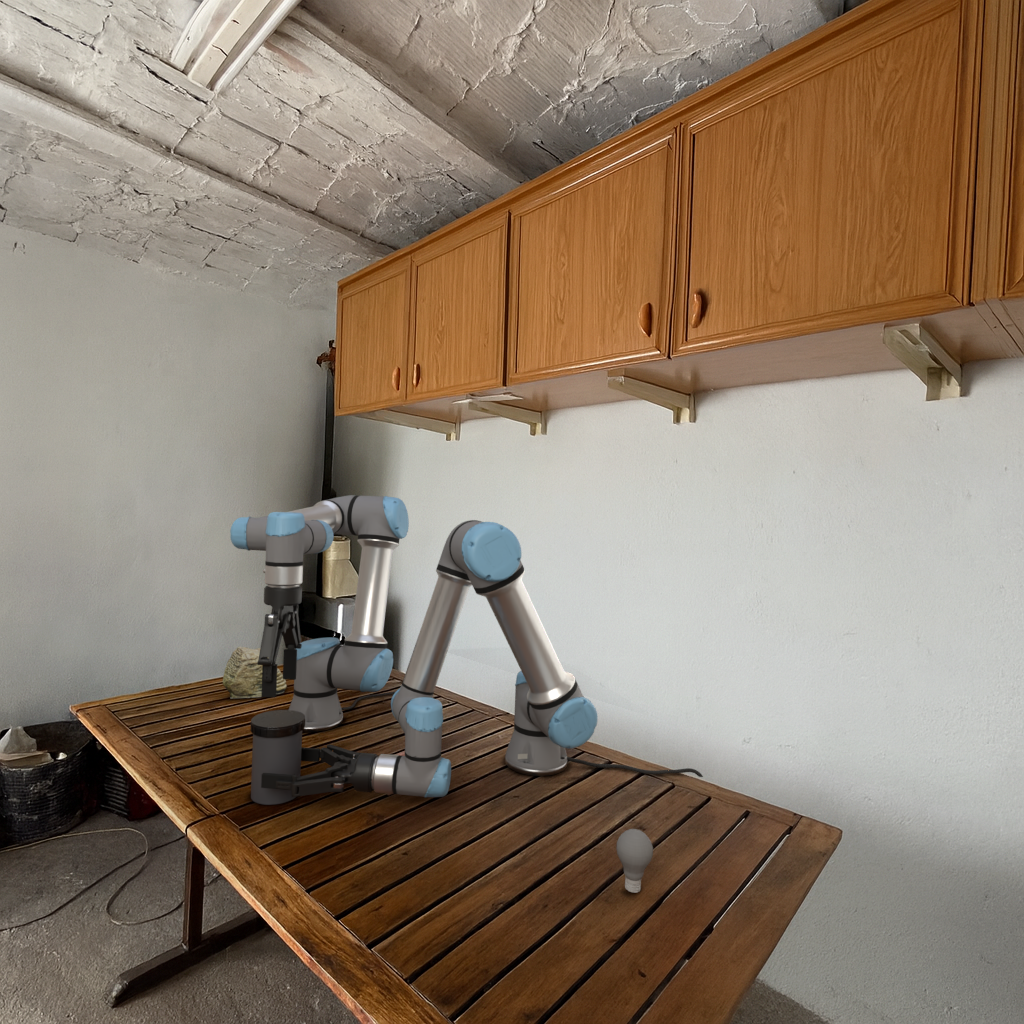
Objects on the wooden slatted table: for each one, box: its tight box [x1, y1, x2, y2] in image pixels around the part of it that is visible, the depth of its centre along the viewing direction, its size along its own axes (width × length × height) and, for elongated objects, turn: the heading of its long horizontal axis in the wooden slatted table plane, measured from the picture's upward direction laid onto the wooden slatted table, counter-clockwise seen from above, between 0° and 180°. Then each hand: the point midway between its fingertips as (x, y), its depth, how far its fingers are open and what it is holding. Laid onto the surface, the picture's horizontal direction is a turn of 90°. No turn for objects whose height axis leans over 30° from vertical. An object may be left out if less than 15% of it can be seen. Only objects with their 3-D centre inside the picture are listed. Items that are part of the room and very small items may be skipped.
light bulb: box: [615, 828, 654, 894], centre depth 106 cm, size 6×6×10 cm
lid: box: [250, 709, 305, 738], centre depth 134 cm, size 11×11×2 cm
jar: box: [250, 731, 303, 806], centre depth 134 cm, size 10×10×16 cm
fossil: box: [222, 646, 288, 699], centre depth 198 cm, size 9×18×15 cm, turn 132°
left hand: (279, 687), depth 134 cm, fingers open, 12 cm apart
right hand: (276, 766), depth 133 cm, fingers open, 13 cm apart
